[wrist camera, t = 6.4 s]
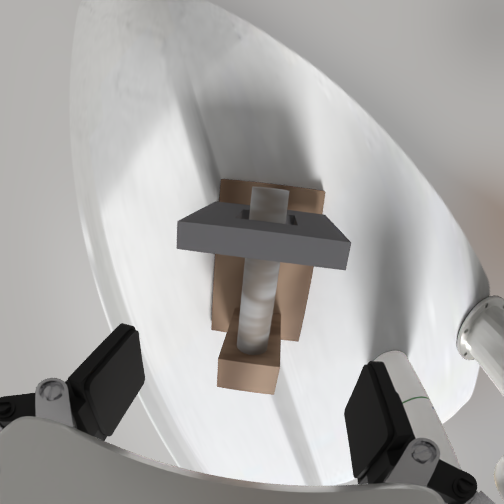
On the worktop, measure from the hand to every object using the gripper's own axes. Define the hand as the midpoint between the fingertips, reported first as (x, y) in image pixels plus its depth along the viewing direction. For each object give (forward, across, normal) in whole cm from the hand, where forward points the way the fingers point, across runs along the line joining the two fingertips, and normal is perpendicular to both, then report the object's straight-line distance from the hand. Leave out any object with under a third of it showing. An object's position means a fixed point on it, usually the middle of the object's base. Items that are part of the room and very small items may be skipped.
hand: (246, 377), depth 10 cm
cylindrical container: (+26, -21, +19) cm, 38 cm away
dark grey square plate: (+22, +1, -3) cm, 22 cm away
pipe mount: (+25, +1, +4) cm, 25 cm away
